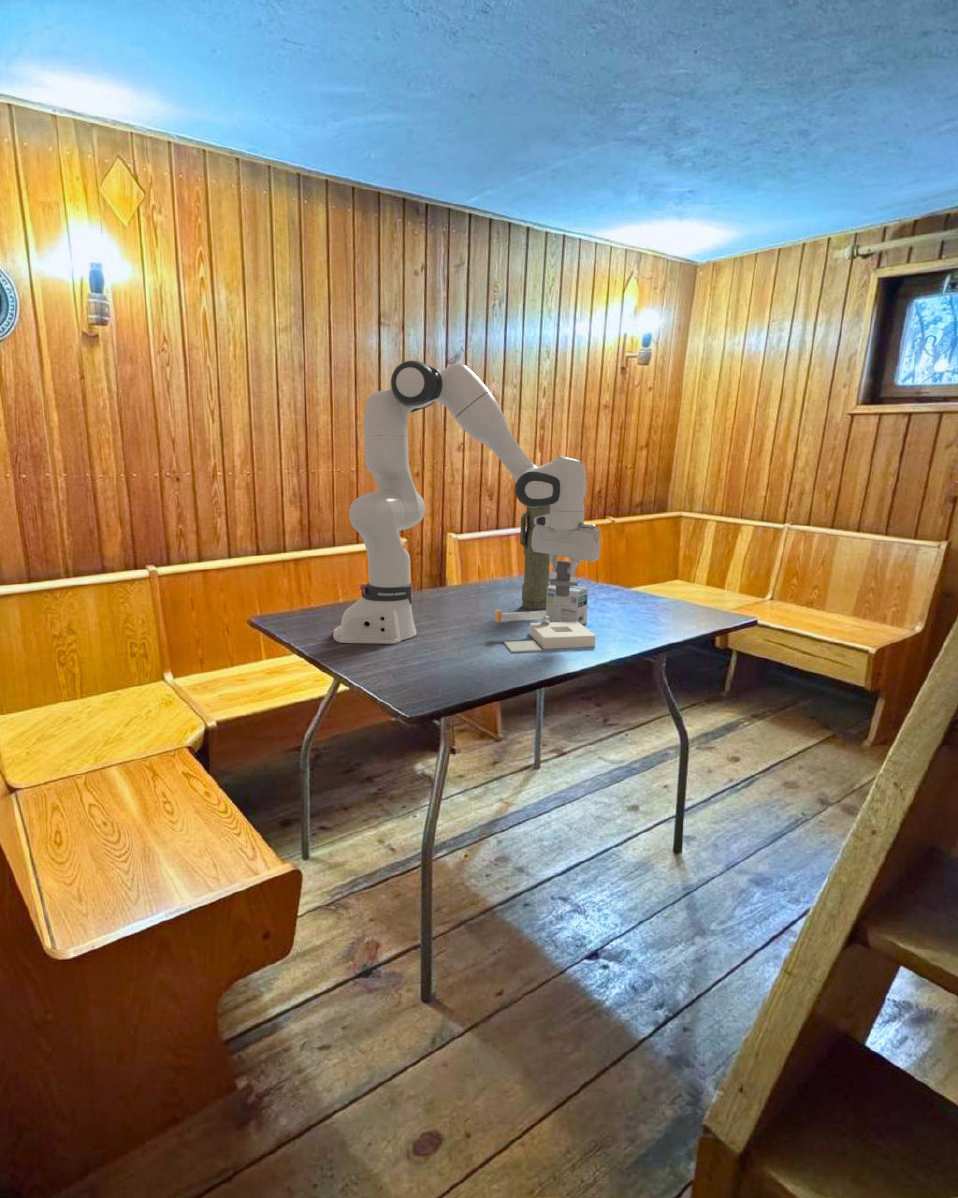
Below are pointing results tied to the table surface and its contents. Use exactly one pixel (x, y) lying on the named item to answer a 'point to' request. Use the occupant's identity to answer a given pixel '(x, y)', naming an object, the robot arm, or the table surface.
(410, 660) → the table surface
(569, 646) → the socket
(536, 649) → the mat
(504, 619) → the ball-tipped lever rod
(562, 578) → the plug
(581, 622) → the light bulb box
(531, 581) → the thermos
